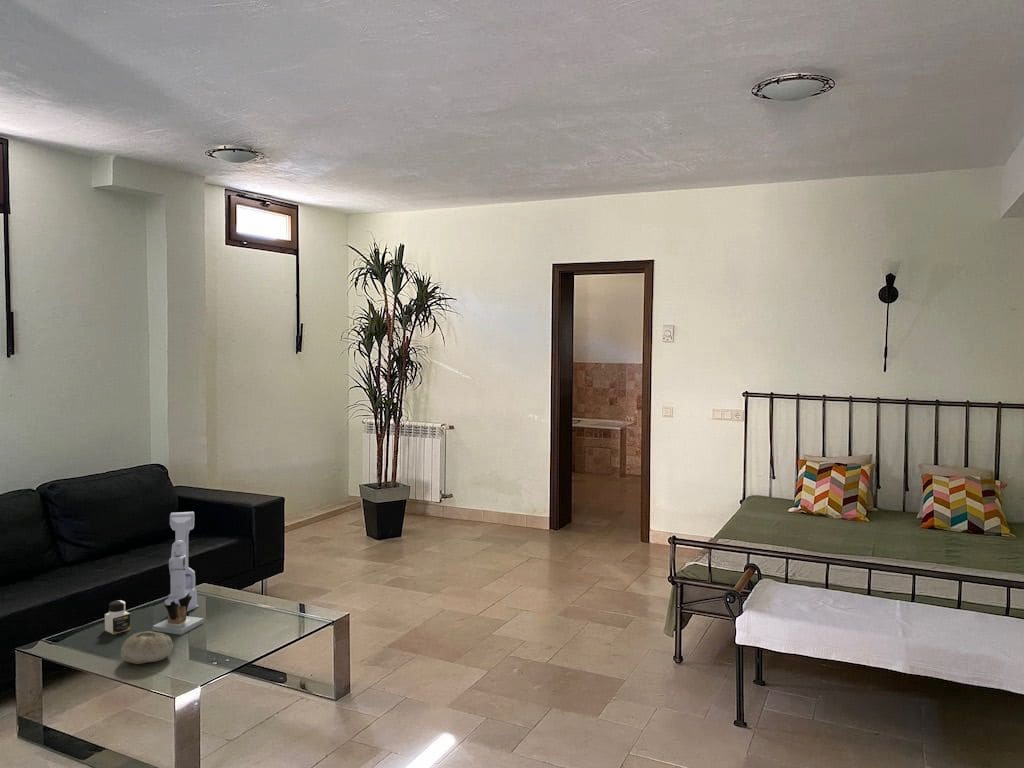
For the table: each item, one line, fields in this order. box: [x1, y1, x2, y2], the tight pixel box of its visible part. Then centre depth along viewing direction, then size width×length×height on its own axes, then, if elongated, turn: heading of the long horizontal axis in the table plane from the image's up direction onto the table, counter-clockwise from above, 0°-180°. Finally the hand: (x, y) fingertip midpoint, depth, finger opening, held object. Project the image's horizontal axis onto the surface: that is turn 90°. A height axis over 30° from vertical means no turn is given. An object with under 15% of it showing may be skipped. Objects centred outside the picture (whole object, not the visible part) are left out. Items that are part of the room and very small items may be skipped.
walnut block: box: [167, 606, 187, 624], centre depth 332 cm, size 5×5×6 cm
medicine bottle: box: [104, 599, 131, 635], centre depth 327 cm, size 7×7×12 cm
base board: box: [152, 615, 205, 636], centre depth 332 cm, size 14×14×2 cm
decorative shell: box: [120, 630, 174, 665], centre depth 297 cm, size 18×18×10 cm
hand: (178, 616), depth 331 cm, fingers open, 6 cm apart
